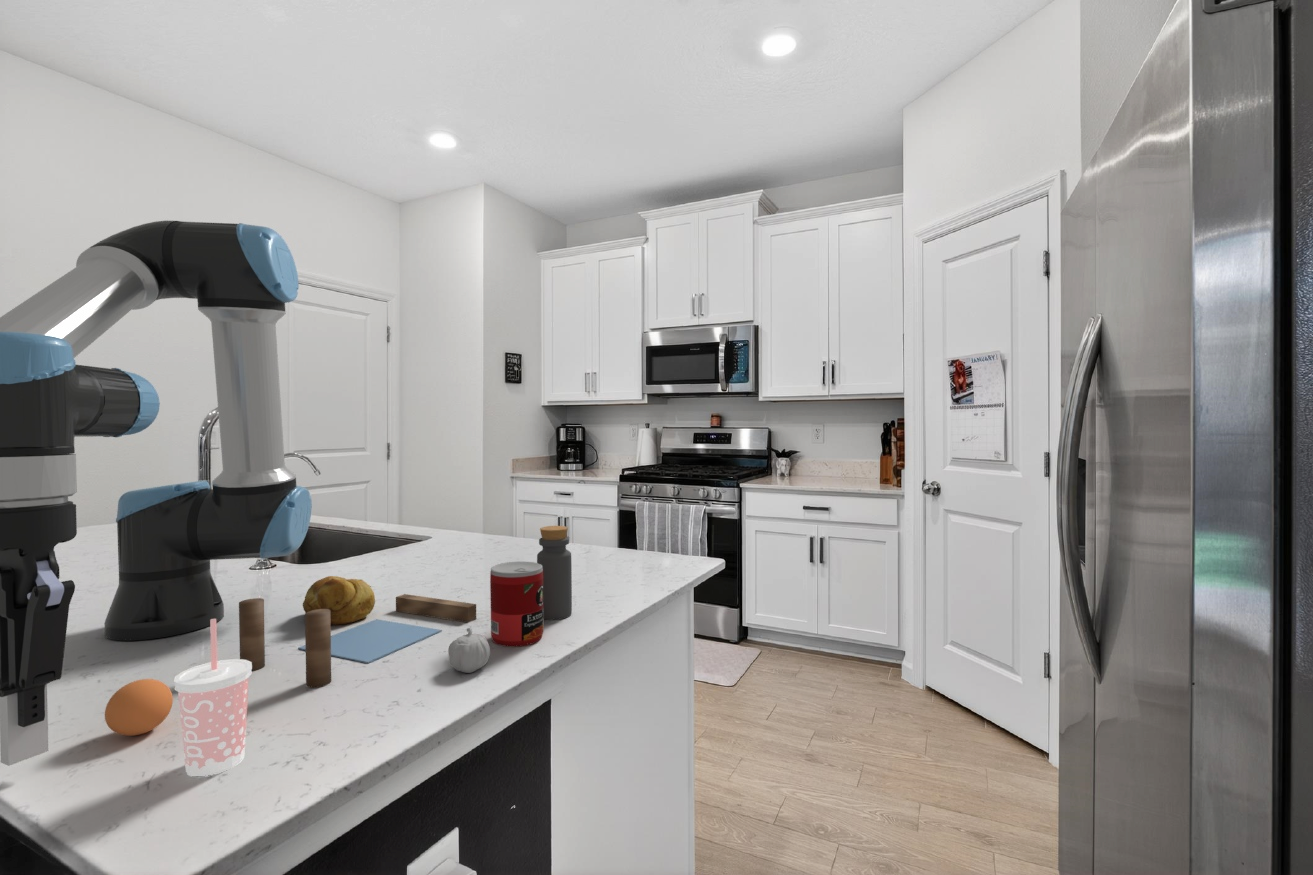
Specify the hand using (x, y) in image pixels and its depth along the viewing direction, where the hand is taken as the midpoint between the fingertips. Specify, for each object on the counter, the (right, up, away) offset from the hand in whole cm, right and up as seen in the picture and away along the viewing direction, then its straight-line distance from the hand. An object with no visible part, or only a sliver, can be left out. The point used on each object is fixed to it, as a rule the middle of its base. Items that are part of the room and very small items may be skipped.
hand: (24, 756), depth 56 cm
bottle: (+41, -1, +48) cm, 63 cm away
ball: (+3, +1, +8) cm, 9 cm away
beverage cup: (+16, -2, +2) cm, 16 cm away
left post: (+4, -2, +26) cm, 26 cm away
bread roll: (+4, -2, +47) cm, 47 cm away
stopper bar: (+20, -1, +48) cm, 52 cm away
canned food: (+37, -1, +36) cm, 52 cm away
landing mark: (+15, -1, +36) cm, 39 cm away
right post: (+16, -2, +21) cm, 26 cm away
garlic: (+33, -2, +25) cm, 42 cm away
